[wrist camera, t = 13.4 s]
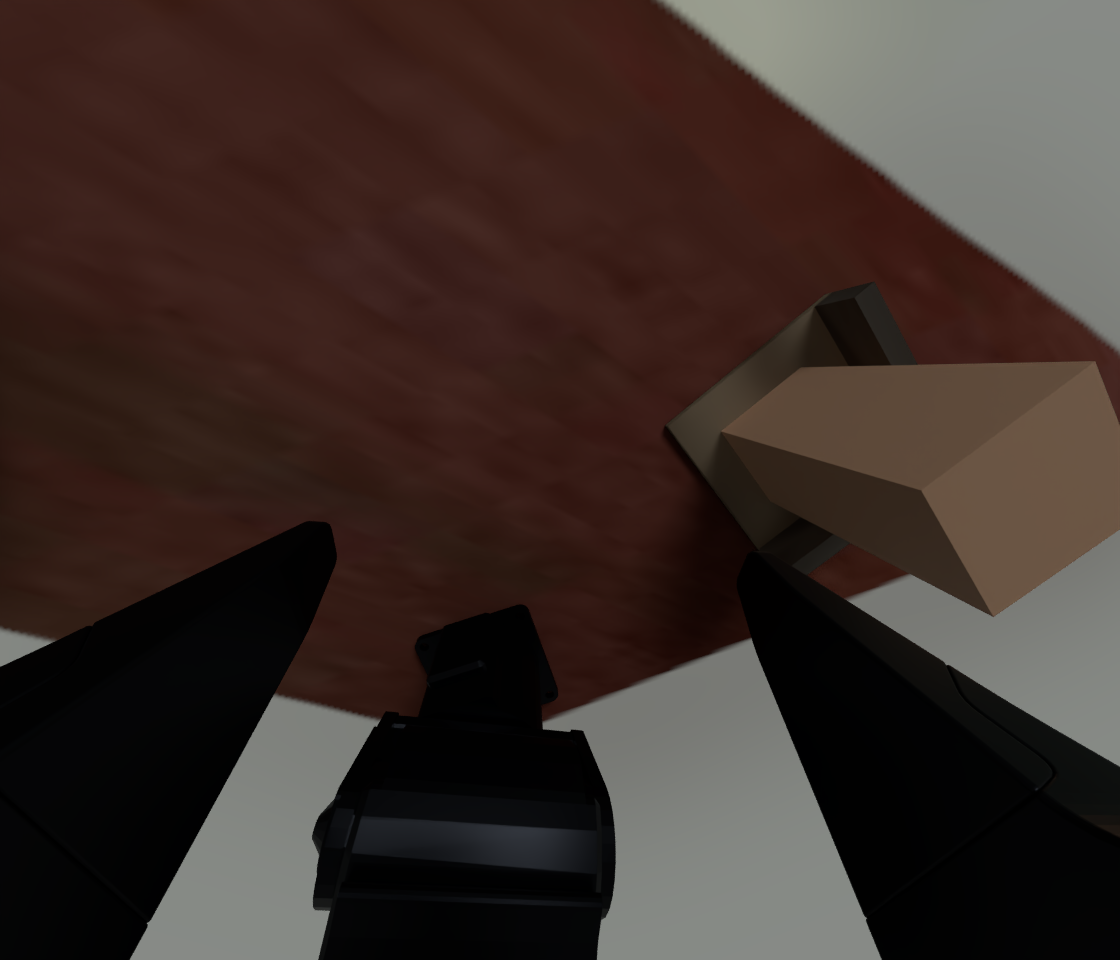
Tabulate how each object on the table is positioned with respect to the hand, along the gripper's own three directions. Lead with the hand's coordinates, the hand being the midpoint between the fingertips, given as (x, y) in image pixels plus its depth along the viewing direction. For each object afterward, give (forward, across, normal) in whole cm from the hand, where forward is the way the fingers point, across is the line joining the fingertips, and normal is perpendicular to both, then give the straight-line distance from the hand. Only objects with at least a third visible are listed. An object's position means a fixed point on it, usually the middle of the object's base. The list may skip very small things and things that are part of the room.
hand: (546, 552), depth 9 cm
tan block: (+12, -13, +2) cm, 18 cm away
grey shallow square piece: (+13, -13, +2) cm, 18 cm away
